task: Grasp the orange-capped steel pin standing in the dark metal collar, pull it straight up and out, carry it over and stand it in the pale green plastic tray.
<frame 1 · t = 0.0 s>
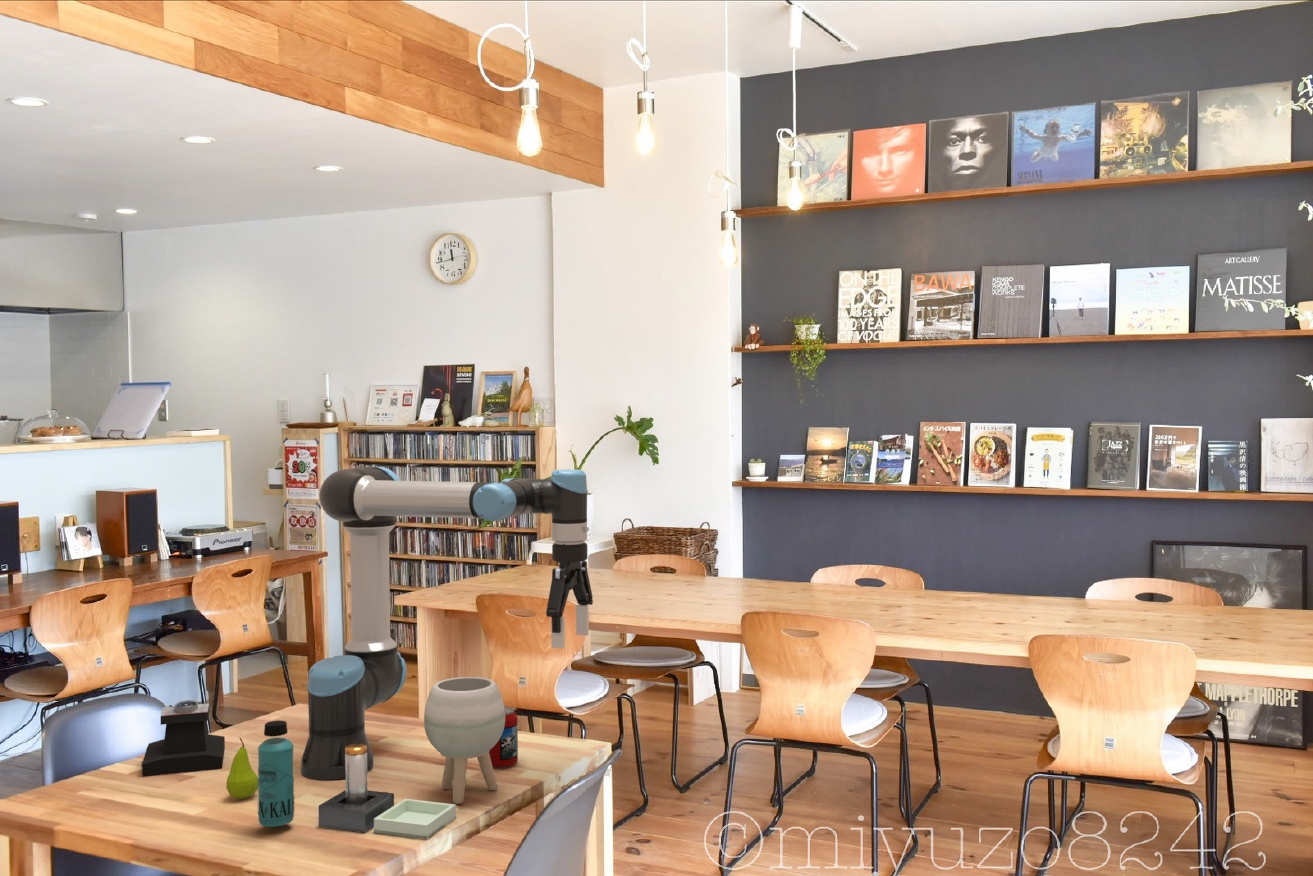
hand: (570, 641, 238), 28 cm above the table, fingers open, 13 cm apart
black pedestal stand: (185, 764, 247), on the table
beverage bottle: (276, 829, 207), on the table
beverage can: (502, 765, 244), on the table
planter: (465, 795, 225), on the table
tray: (415, 825, 209), on the table
pin: (356, 783, 211), in the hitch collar
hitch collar: (357, 820, 211), on the table
fruit: (242, 798, 224), on the table
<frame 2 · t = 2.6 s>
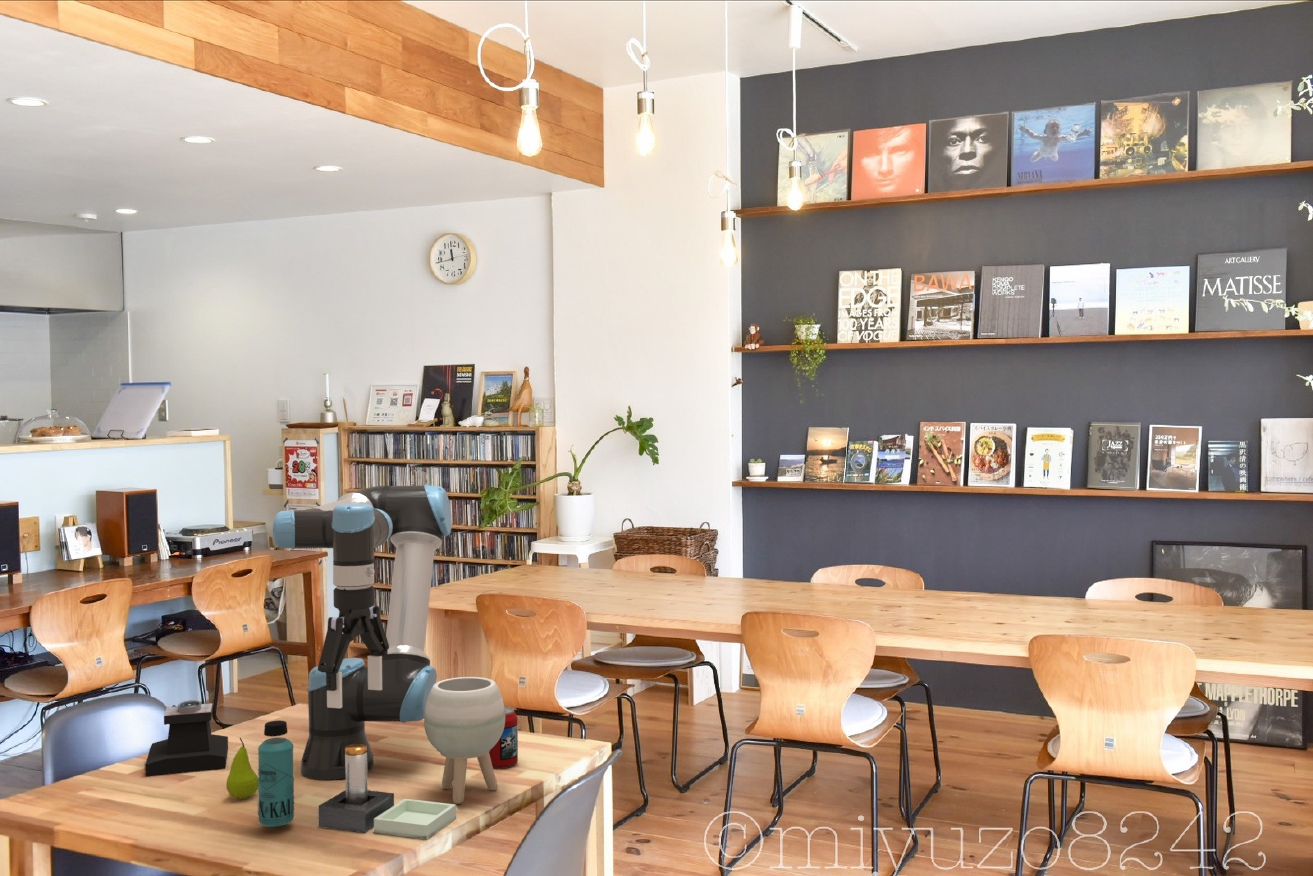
hand: (355, 698, 211), 23 cm above the table, fingers open, 13 cm apart
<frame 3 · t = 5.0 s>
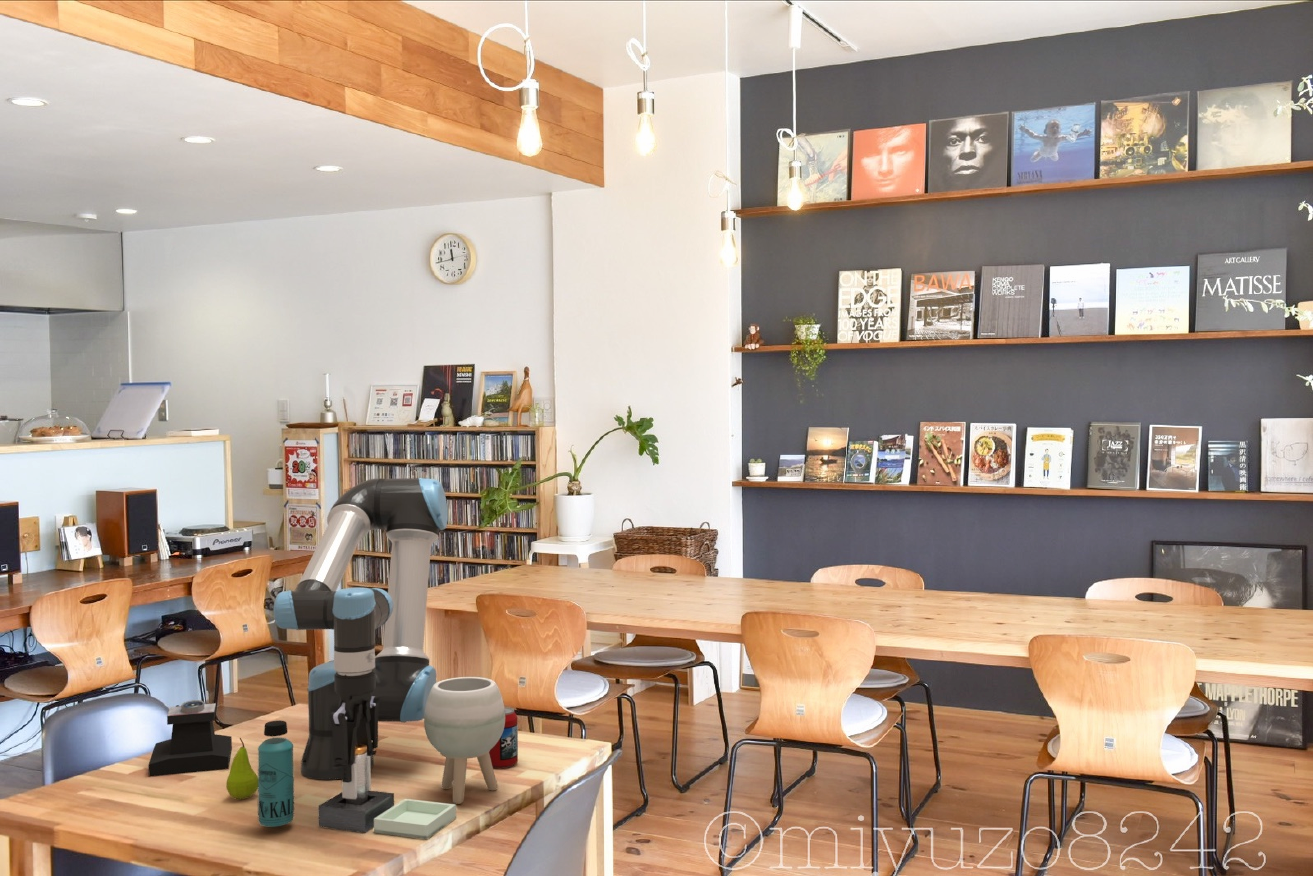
hand: (356, 793, 211), 5 cm above the table, fingers closed on pin, 4 cm apart
pin: (356, 783, 211), in the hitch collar, touching gripper
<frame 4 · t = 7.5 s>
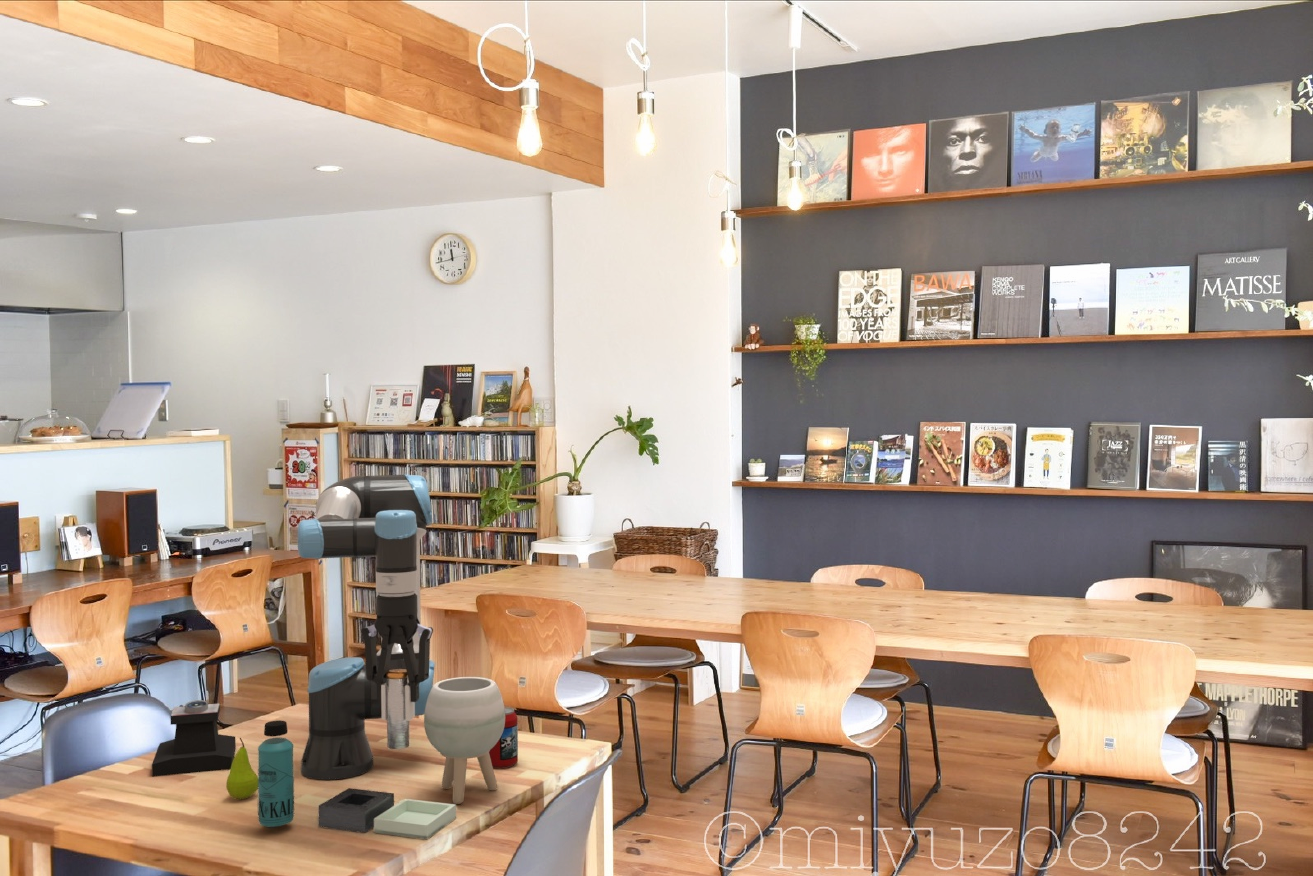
hand: (398, 718, 208), 20 cm above the table, fingers closed on pin, 4 cm apart
pin: (397, 708, 208), point 22 cm above the table, touching gripper
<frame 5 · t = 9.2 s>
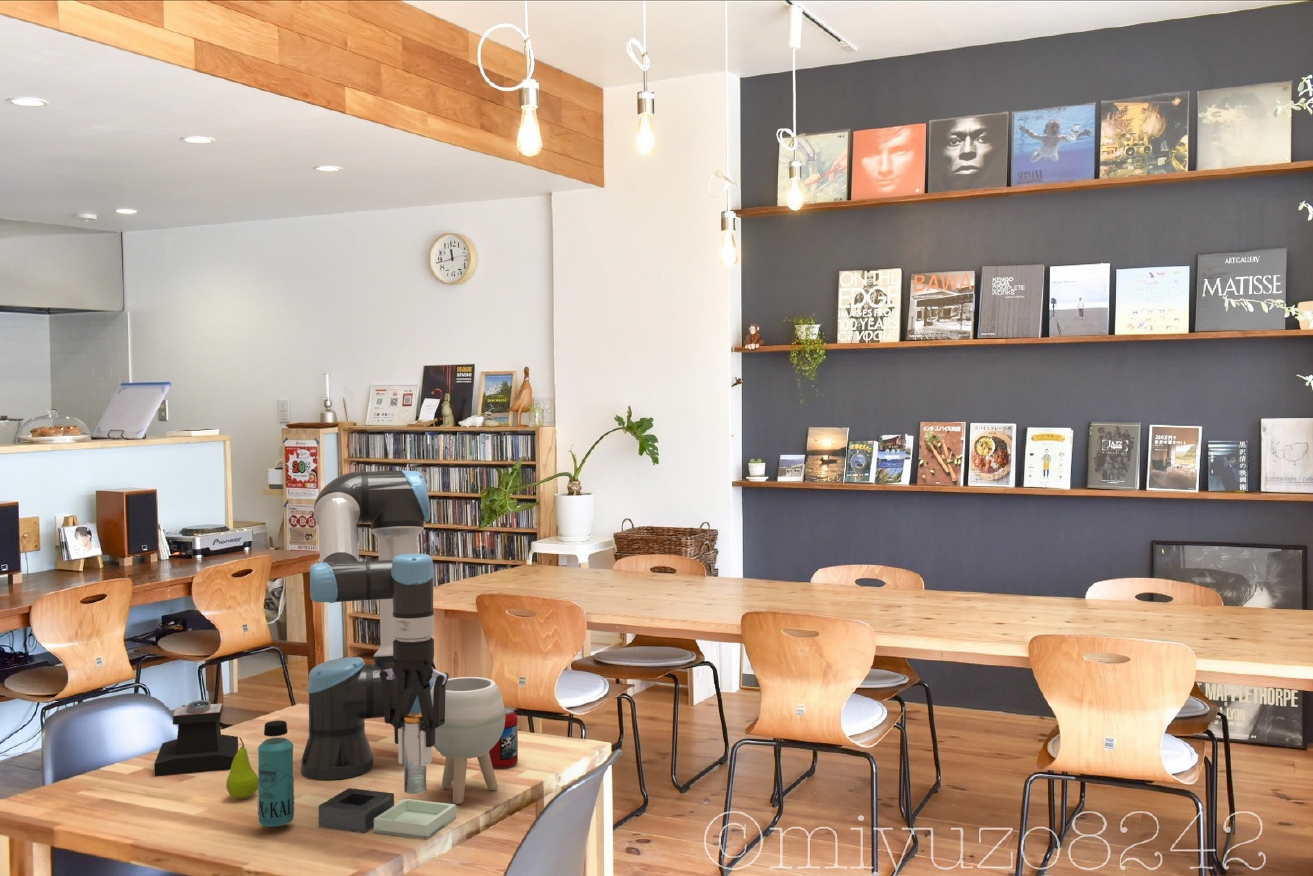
hand: (415, 762, 208), 12 cm above the table, fingers closed on pin, 4 cm apart
pin: (414, 753, 208), point 14 cm above the table, touching gripper
when the fingers open (7 cm above the table, at t = 10.4 s): pin stays where it is, resting on tray.
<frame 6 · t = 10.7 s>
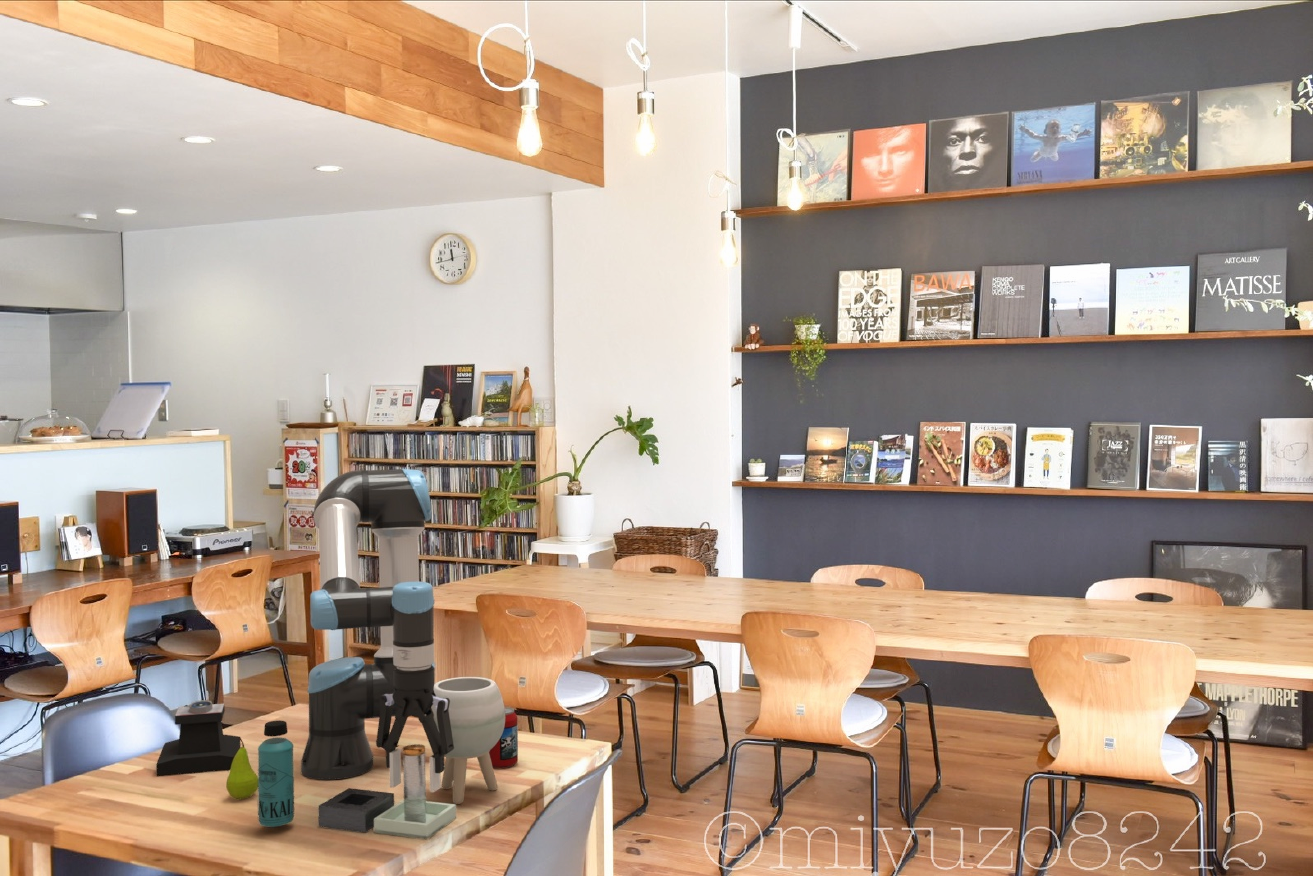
hand: (415, 787, 208), 7 cm above the table, fingers open, 8 cm apart
pin: (414, 784, 208), in the tray, point 8 cm above the table
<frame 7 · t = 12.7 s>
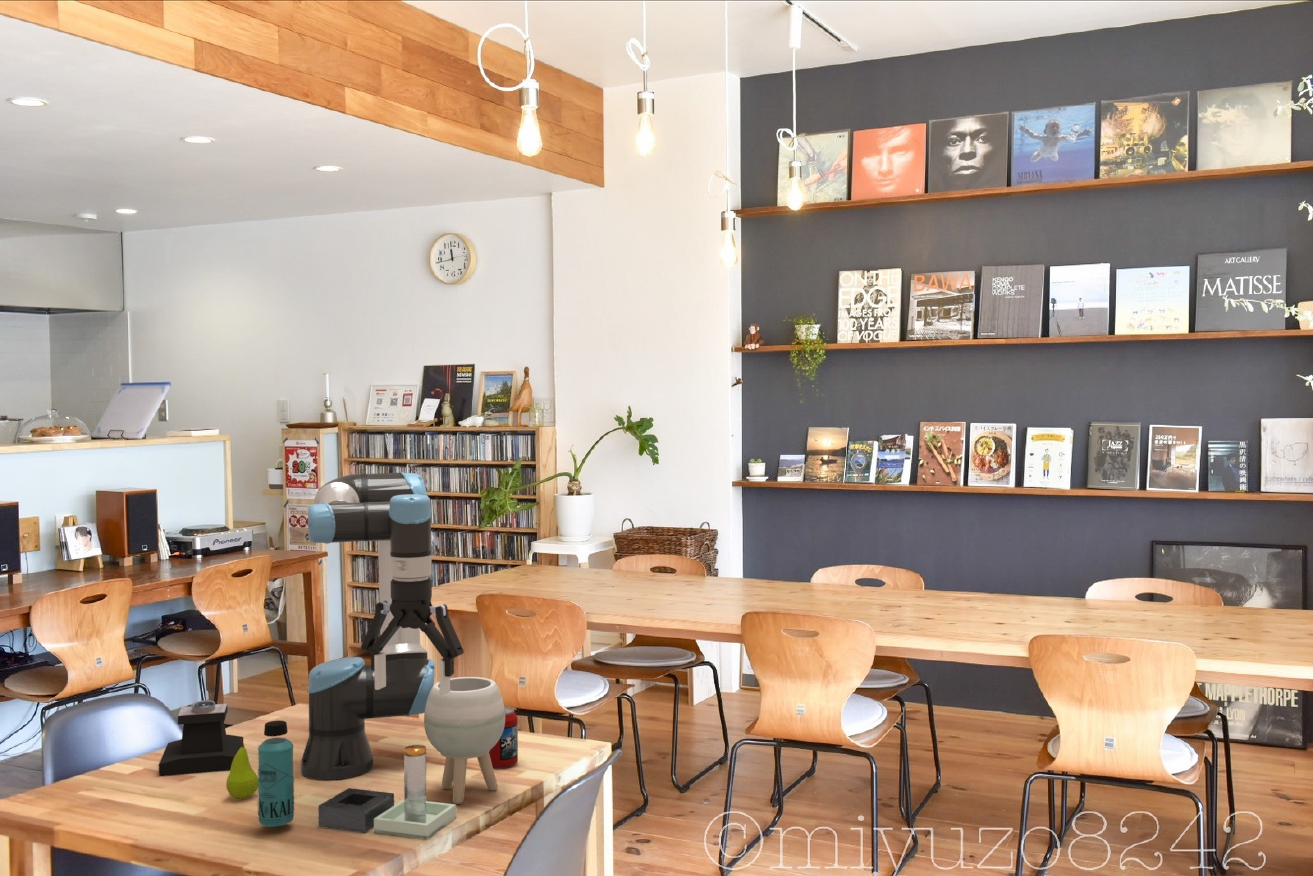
hand: (412, 691, 209), 25 cm above the table, fingers open, 13 cm apart
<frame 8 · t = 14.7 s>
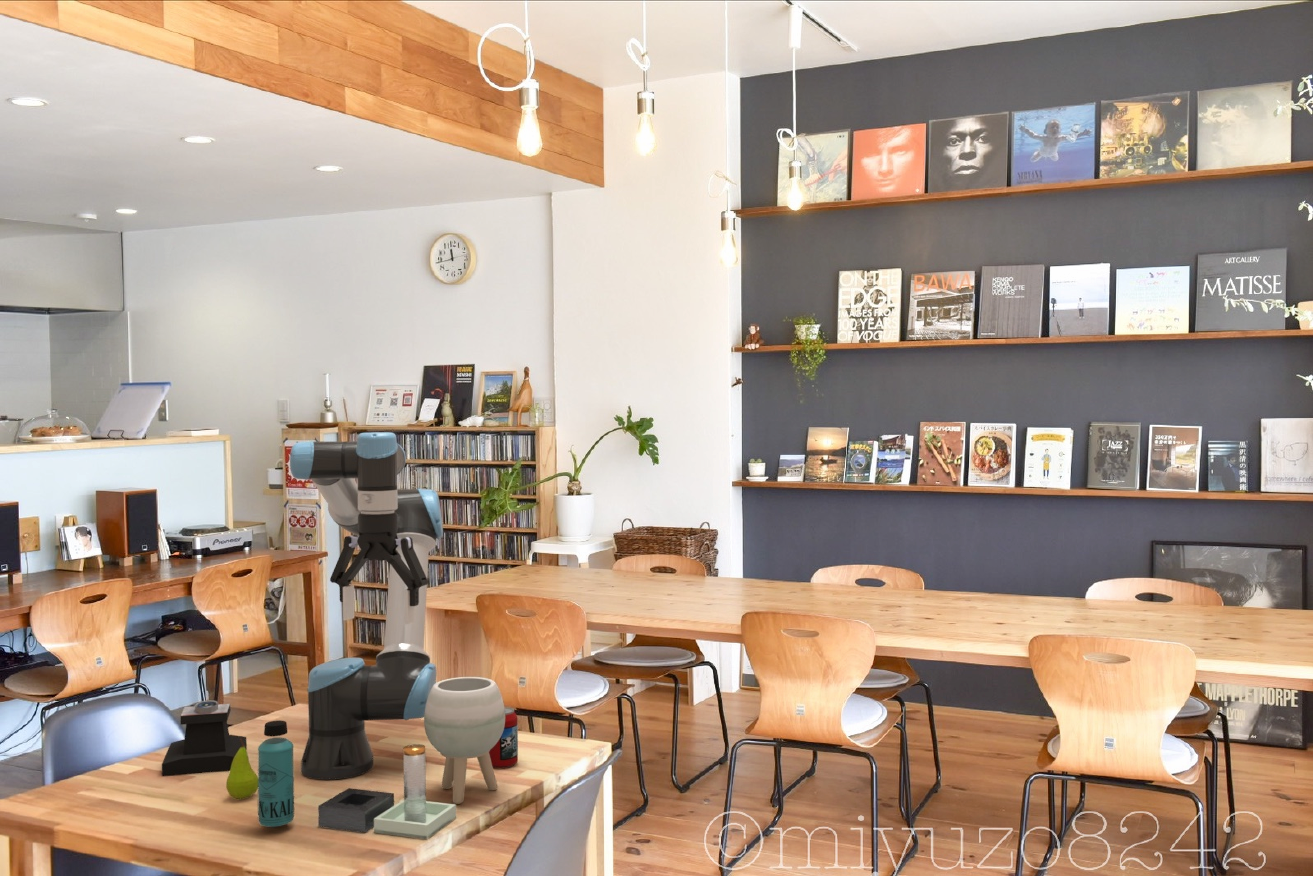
hand: (379, 621, 217), 37 cm above the table, fingers open, 13 cm apart
at the end: pin inside the target area on the tray (0.1 cm from its centre), point 7.6 cm above the tray's base; pin tilted 1°; the gripper is holding nothing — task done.
